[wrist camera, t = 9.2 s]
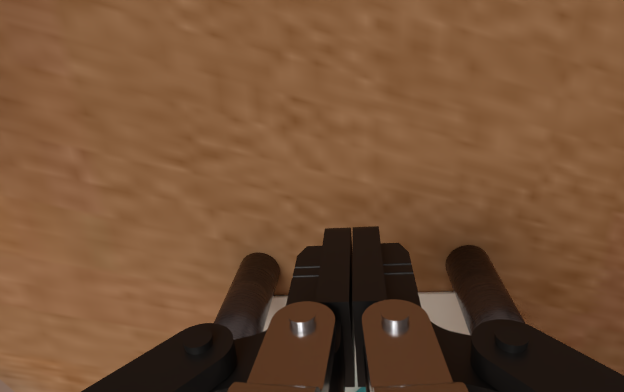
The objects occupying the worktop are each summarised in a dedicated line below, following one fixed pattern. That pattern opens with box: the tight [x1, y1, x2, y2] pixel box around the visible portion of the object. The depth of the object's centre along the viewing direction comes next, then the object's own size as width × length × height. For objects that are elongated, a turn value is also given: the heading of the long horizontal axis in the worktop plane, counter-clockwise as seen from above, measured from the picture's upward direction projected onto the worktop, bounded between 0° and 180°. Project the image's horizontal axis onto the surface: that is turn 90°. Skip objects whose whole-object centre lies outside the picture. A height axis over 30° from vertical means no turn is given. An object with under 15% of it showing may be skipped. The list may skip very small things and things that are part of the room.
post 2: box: [446, 245, 525, 336], centre depth 23 cm, size 3×3×9 cm
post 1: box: [214, 253, 280, 340], centre depth 25 cm, size 3×3×9 cm
